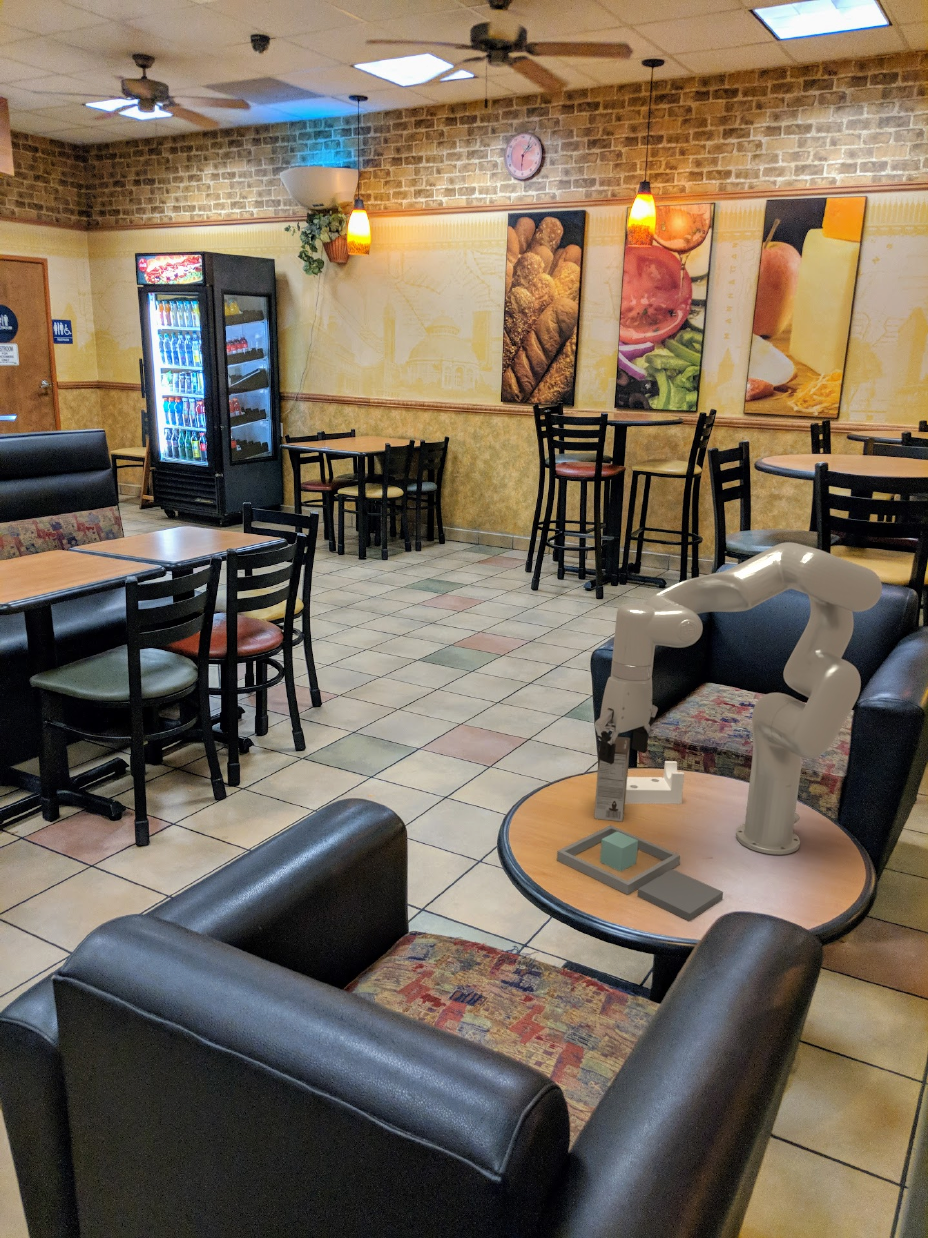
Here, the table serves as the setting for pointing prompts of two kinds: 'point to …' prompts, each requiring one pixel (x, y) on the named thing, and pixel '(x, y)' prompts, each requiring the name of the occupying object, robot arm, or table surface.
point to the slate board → (680, 894)
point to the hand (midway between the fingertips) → (623, 756)
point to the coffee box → (612, 783)
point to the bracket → (657, 787)
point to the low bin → (609, 879)
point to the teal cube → (618, 851)
